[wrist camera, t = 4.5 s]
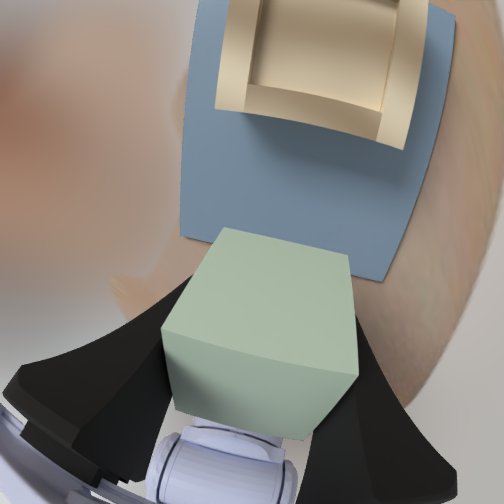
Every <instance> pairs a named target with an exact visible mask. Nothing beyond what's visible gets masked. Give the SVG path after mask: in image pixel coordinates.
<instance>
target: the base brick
mask: <svg viewBox="0 0 504 504" xmlns="http://www.w3.org/2000/svg"><path fill="white" fill-rule="evenodd" d="M427 15H428V0H230V2H229V8H228V14H227V20H226V26H225V32H224V39H223V46H222V53H221V60H220V68H219V75H218V83H217V92H216V100H215V109H219V110H228V111H236V112H244V113H251V114H258V115H264V116H270V117H276V118H282V119H287V120H293V121H298V122H303V123H307V124H312V125H316V126H321V127H325V128H329V129H333V130H337V131H341V132H345V133H349V134H352V135H356V136H360V137H363V138H367V139H370V140H373V141H376V142H380V143H383V144H386V145H389V146H392V147H395V148H398V149H401V150H403V148H404V145H405V141H406V137H407V133H408V129H409V125H410V121H411V116H412V112H413V107H414V103H415V98H416V93H417V88H418V83H419V77H420V71H421V65H422V59H423V52H424V44H425V36H426V26H427Z"/></svg>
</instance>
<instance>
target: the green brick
mask: <svg viewBox="0 0 504 504" xmlns="http://www.w3.org/2000/svg"><path fill="white" fill-rule="evenodd" d="M161 333H162V339H163V346H164V352H165V358H166V364H167V369H168V375H169V380H170V385H171V390H172V395H173V400H174V404H175V409H176V410H178V411H181V412H184V413H186V414H190V415H193V416H196V417H199V418H202V419H205V420H209V421H212V422H216V423H219V424H223V425H227V426H231V427H235V428H239V429H243V430H247V431H251V432H256V433H261V434H265V435H271V436H276V437H281V438H288V439H293V440H300V441H304V440H305V438H307V437H308V436H309V434H310V433H311V432H312V431H313V430H314V429H315V428H316V427H317V426H318V425H319V423H320V422H321V421H322V420H323V419H324V418H325V417H326V415H327V414H328V413H329V412H330V411H331V410H332V408H333V407H334V406H335V405H336V404H337V402H338V401H339V400H340V399H341V397H342V396H343V395H344V394H345V392H346V391H347V390H348V389H349V387H350V386H351V385H352V383H353V382H354V381H355V380H356V378H357V377H358V376H359V366H358V347H357V333H356V321H355V310H354V300H353V291H352V282H351V274H350V267H349V259H348V255H345V254H341V253H336V252H332V251H328V250H324V249H319V248H315V247H311V246H306V245H302V244H298V243H293V242H289V241H285V240H280V239H276V238H271V237H267V236H263V235H258V234H254V233H249V232H244V231H240V230H235V229H231V228H226V227H224V228H223V229H222V231H221V232H220V234H219V235H218V237H217V239H216V240H215V242H214V243H213V245H212V246H211V248H210V249H209V251H208V253H207V254H206V256H205V257H204V259H203V260H202V262H201V264H200V265H199V267H198V268H197V270H196V272H195V273H194V275H193V276H192V278H191V280H190V281H189V283H188V284H187V286H186V288H185V289H184V291H183V292H182V294H181V296H180V297H179V299H178V301H177V302H176V304H175V306H174V307H173V309H172V311H171V312H170V314H169V315H168V317H167V319H166V320H165V322H164V324H163V325H162V327H161Z"/></svg>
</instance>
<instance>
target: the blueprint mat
mask: <svg viewBox="0 0 504 504" xmlns="http://www.w3.org/2000/svg"><path fill="white" fill-rule="evenodd" d="M229 2H230V0H199V3H198V9H197V14H196V21H195V27H194V34H193V41H192V48H191V55H190V63H189V72H188V81H187V91H186V102H185V114H184V127H183V142H182V162H181V191H180V236H184V237H188V238H192V239H197V240H201V241H205V242H210V243H214V242H215V240H216V239H217V237H218V235H219V234H220V232H221V231H222V229H223V228H224V227H226V228H231V229H235V230H240V231H244V232H249V233H254V234H258V235H263V236H267V237H271V238H276V239H280V240H285V241H289V242H293V243H298V244H302V245H306V246H311V247H315V248H319V249H324V250H328V251H332V252H336V253H341V254H345V255H348V259H349V267H350V274H351V275H354V276H358V277H362V278H367V279H371V280H375V281H380V282H382V281H383V279H384V277H385V275H386V273H387V270H388V268H389V266H390V264H391V262H392V259H393V257H394V255H395V253H396V250H397V248H398V246H399V243H400V241H401V239H402V236H403V234H404V231H405V229H406V226H407V224H408V221H409V219H410V216H411V213H412V211H413V208H414V205H415V203H416V200H417V197H418V194H419V191H420V188H421V185H422V182H423V179H424V176H425V173H426V170H427V167H428V163H429V160H430V157H431V153H432V150H433V146H434V143H435V139H436V135H437V131H438V127H439V123H440V119H441V114H442V110H443V105H444V100H445V95H446V90H447V85H448V79H449V73H450V66H451V59H452V51H453V41H454V30H455V15H453V14H451V13H449V12H447V11H445V10H443V9H441V8H439V7H437V6H435V5H432V4H430V3H428V15H427V26H426V36H425V44H424V52H423V59H422V65H421V71H420V77H419V83H418V88H417V93H416V98H415V103H414V107H413V112H412V116H411V121H410V125H409V129H408V133H407V137H406V141H405V145H404V148H403V150H401V149H398V148H395V147H392V146H389V145H386V144H383V143H380V142H376V141H373V140H370V139H367V138H363V137H360V136H356V135H352V134H349V133H345V132H341V131H337V130H333V129H329V128H325V127H321V126H316V125H312V124H307V123H303V122H298V121H293V120H287V119H282V118H276V117H270V116H264V115H258V114H251V113H244V112H236V111H228V110H219V109H215V100H216V92H217V83H218V75H219V68H220V60H221V53H222V46H223V39H224V32H225V26H226V20H227V14H228V8H229Z"/></svg>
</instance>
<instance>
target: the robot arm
mask: <svg viewBox="0 0 504 504" xmlns="http://www.w3.org/2000/svg"><path fill="white" fill-rule="evenodd" d="M193 275H194V274H193ZM193 275H192V276H193ZM192 276H190V277H189V278H188V279H187V280H185V281H184V282H183V283H182V284H180V285H179V286H178V287H177V288H175V289H174V290H173V291H172V292H170V293H169V294H168V295H167V296H165V297H164V298H163V299H161V300H160V301H159V302H157V303H156V304H155V305H153V306H152V307H150V308H149V309H148V310H146V311H145V312H143V313H142V314H140V315H139V316H137V317H136V318H134V319H133V320H131V321H130V322H128V323H126V324H125V325H123V326H122V327H120V328H118V329H116V330H115V331H113V332H111V333H109V334H107V335H105V336H103V337H101V338H99V339H97V340H95V341H93V342H91V343H89V344H87V345H85V346H82V347H80V348H77V349H75V350H72V351H69V352H67V353H64V354H61V355H58V356H56V357H52V358H49V359H45V360H41V361H38V362H33V363H30V364H25V365H22V366H21V367H20V368H19V369H18V371H17V372H16V374H15V375H14V377H13V378H12V379H11V381H10V382H9V383H8V385H7V386H6V388H5V389H4V391H3V392H2V393H3V396H4V397H5V399H6V400H7V401H8V402H9V403H10V404H11V405H12V406H13V407H14V408H15V409H16V410H18V411H19V412H20V413H21V414H22V415H23V416H24V417H25V418H26V419H27V420H28V422H27V423H26V425H23V423H22V422H21V421H19V420H18V419H17V418H16V417H15V416H14V415H12V413H10V412H9V411H8V410H7V409H6V408H5V407H4V406H3V405H2V404H1V403H0V490H1V491H2V493H3V494H4V495H5V497H6V498H7V499H8V500H9V501H10V502H11V503H12V504H110V503H108V502H106V501H103V500H101V499H98V498H96V497H94V496H92V495H91V492H90V490H91V491H93V492H95V493H97V494H98V495H100V496H102V497H104V498H106V499H108V500H110V501H112V502H114V503H116V504H294V500H295V496H296V490H297V482H298V476H297V471H296V469H295V467H294V466H293V464H292V462H291V461H289V460H284V456H285V451H286V450H285V449H281V444H282V439H283V438H281V437H276V436H271V435H265V434H261V433H256V432H251V431H247V430H243V429H239V428H235V427H231V426H227V425H223V424H219V423H216V422H212V421H209V420H205V419H202V418H199V417H196V416H194V418H193V420H192V423H191V426H188V425H185V427H184V429H183V432H182V434H179V433H176V432H175V433H172V434H171V435H169V436H167V437H165V438H164V439H163V440H162V441H161V442H160V444H159V445H158V447H157V449H156V451H155V453H154V455H153V457H152V459H151V456H152V453H153V450H154V447H155V443H156V440H157V437H158V434H159V431H160V428H161V426H162V423H163V420H164V417H165V414H166V411H167V409H168V406H169V404H170V401H171V398H172V396H173V395H172V390H171V385H170V380H169V375H168V369H167V364H166V358H165V352H164V346H163V339H162V333H161V327H162V325H163V324H164V322H165V320H166V319H167V317H168V315H169V314H170V312H171V311H172V309H173V307H174V306H175V304H176V302H177V301H178V299H179V297H180V296H181V294H182V292H183V291H184V289H185V288H186V286H187V284H188V283H189V281H190V280H191V278H192ZM355 321H356V333H357V347H358V366H359V376H358V377H357V378H356V380H355V381H354V382H353V383H352V385H351V386H350V387H349V389H348V390H347V391H346V392H345V394H344V395H343V396H342V397H341V399H340V400H339V401H338V402H337V404H336V405H335V406H334V407H333V408H332V410H331V411H330V412H329V413H328V414H327V415H326V417H325V418H324V419H323V420H322V421H321V422H320V423H319V425H318V426H317V427H316V428H315V429H314V431H313V436H312V441H311V446H310V451H309V456H308V460H307V465H306V469H305V473H304V476H303V480H302V484H301V487H300V491H299V494H298V497H297V500H296V503H295V504H441V503H444V502H447V501H450V500H452V499H454V498H455V497H456V496H457V472H456V470H455V469H454V468H453V467H452V466H451V465H450V464H449V463H448V462H447V461H446V460H445V459H444V458H443V457H442V456H441V455H440V454H439V453H438V452H437V451H436V450H435V449H434V448H433V446H432V445H431V444H430V443H429V442H428V441H427V439H426V438H425V437H424V436H423V435H422V433H421V432H420V431H419V429H418V428H417V427H416V425H415V424H414V423H413V421H412V420H411V419H410V417H409V416H408V414H407V413H406V412H405V410H404V409H403V407H402V405H401V404H400V402H399V401H398V399H397V397H396V396H395V394H394V393H393V391H392V389H391V387H390V386H389V384H388V382H387V380H386V378H385V376H384V374H383V373H382V371H381V369H380V367H379V365H378V363H377V361H376V358H375V356H374V354H373V352H372V350H371V348H370V346H369V344H368V341H367V339H366V337H365V335H364V332H363V330H362V328H361V325H360V323H359V321H358V319H357V316H356V314H355ZM150 460H151V462H150ZM149 463H150V465H149ZM148 467H149V468H148ZM147 470H148V471H147ZM146 474H147V475H146ZM145 478H146V481H145V488H146V498H143V497H140V496H138V495H136V494H134V493H131V492H129V491H127V490H125V489H122V488H121V487H119V486H117V483H118V481H119V480H120V481H122V482H124V483H126V484H128V482H129V480H132V481H134V482H140V481H143V480H145ZM89 489H90V490H89Z"/></svg>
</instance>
